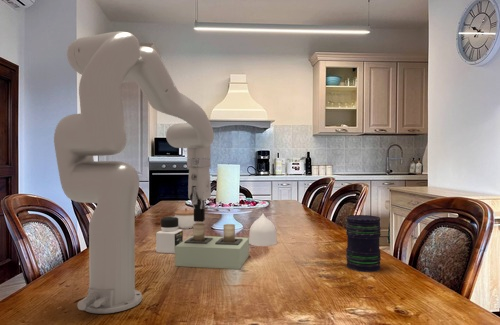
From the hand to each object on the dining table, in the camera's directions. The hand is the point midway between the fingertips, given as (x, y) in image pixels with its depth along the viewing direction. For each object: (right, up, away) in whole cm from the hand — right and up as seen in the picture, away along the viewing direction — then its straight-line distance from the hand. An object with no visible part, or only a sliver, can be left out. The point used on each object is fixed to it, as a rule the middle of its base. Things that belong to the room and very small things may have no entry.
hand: (199, 220), depth 118 cm
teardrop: (+21, -13, +25) cm, 35 cm away
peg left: (0, -8, 0) cm, 8 cm away
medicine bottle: (-12, -13, +12) cm, 21 cm away
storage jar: (+50, -13, -9) cm, 52 cm away
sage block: (+5, -13, -1) cm, 13 cm away
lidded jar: (-14, -13, +58) cm, 61 cm away
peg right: (+10, -8, -2) cm, 12 cm away
